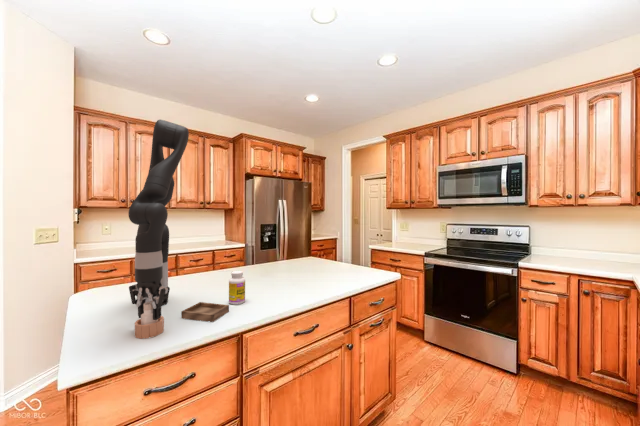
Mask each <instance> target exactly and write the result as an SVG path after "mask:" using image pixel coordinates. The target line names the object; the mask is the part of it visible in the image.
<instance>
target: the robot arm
mask: <svg viewBox="0 0 640 426" xmlns="http://www.w3.org/2000/svg"><path fill="white" fill-rule="evenodd" d="M189 138H190V133H189V129H188V128H187V127H186V126H183V125H180V124H177V123H174V122H170V121H167V120H164V119H157V121H155V124H154V127H153V131H152V142H151V152H150V154H151V155H150V163H149V167H148V174H147V176H146V180H145V182H144V185H143V188H142V189H141V191H140V192H139V193H138V195H137V196H136V197H135V198H134V200H133V201H132V203H131V204H130V206H129V209H128V219H129V221H130V222H131V223H132V224H134V225H138V227H137V232H136V235H135V244H134V245H135V254H134V255H135V256H134V281H135V283H136V284H135V283H134V284H132V285H130V286H128V290H129V296H130V300H131V304H132V305H136V307H137V316H138V319H141V314H143V313H144V303H146V302H152V305H153V320H157V319H159V318H160V317H161V316H162V307H163V306H166V305H167V304H168V303H169V296H170V290H171V288H170V287H169V247H170V230H169V226H168V225H167V224H166V223H167V220H168V210H167V208H166V206H167V205H168V204H169V203H170V201H171V200H172V198H173V194H174V189H175V179H174V175H175V173H176V170H177V168H178V166H179V164H180V163H181V162H180V161H181V160H182V157H183V155H184V152H185V151H186V148H187V145H188V142H189ZM164 148H167V149H169V150H170V149H171V150H172V152H171V153H170V154H169V155H168V156H167V157H166V158H165V157H164V156H165V155H164Z"/></svg>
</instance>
